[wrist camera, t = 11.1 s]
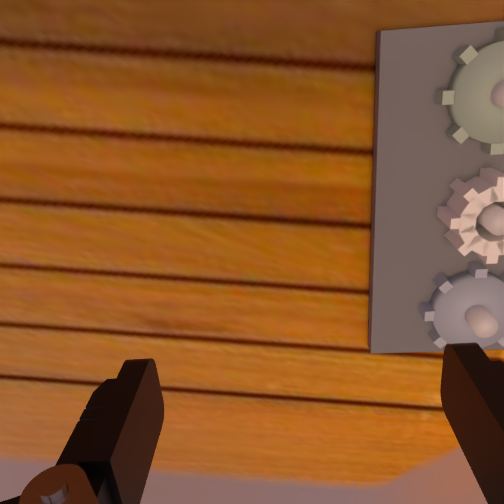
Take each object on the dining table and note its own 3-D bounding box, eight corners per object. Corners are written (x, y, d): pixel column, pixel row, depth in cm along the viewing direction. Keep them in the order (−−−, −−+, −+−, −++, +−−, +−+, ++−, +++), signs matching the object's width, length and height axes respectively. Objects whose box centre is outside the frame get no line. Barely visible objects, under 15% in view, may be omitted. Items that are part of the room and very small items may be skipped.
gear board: (376, 32, 33) (392, 27, 28) (615, 12, 31) (673, 4, 27) (367, 343, 43) (378, 378, 38) (549, 338, 41) (583, 373, 37)
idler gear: (441, 169, 35) (455, 179, 32) (531, 164, 34) (553, 174, 31) (433, 250, 37) (446, 265, 34) (517, 246, 37) (537, 261, 34)
